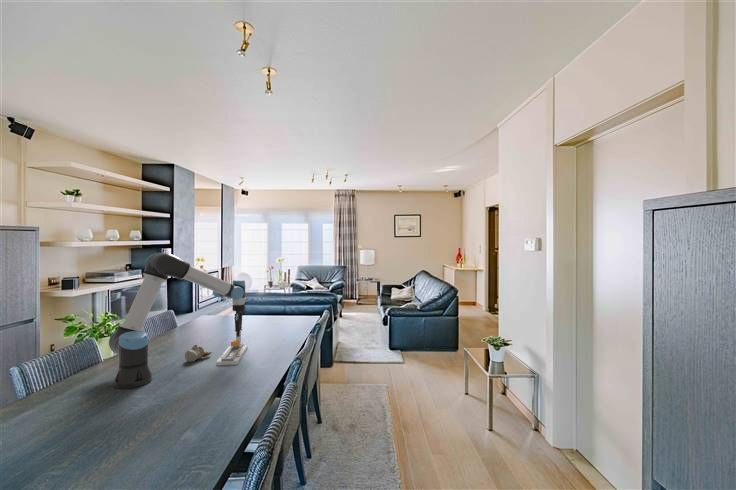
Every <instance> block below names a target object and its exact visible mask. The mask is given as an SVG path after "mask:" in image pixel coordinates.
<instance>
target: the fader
mask: <svg viewBox="0 0 736 490" xmlns="http://www.w3.org/2000/svg"><path fill="white" fill-rule="evenodd" d="M241 341H242V339H241V340H236V339H233V340H232V339H231V341H230V346H231V347H233V350H237V348H238V346H240V345H241V344H242V343H241Z"/></svg>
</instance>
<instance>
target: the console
mask: <svg viewBox="0 0 736 490" xmlns="http://www.w3.org/2000/svg"><path fill="white" fill-rule="evenodd" d="M248 348H249V347H248V344H245V345H244V343H241V345H240V346H238V348H237V350H233V347H231V345H228V347H227V348H226V350H225V351H223V353H222V354H220V357H219V358H217V360H216V366H230V365H233V366H234V365H238V364H239V363H240V361H241V360H242V358H243V356H244V355H245V353H246V352H247V349H248Z"/></svg>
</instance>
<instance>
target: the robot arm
mask: <svg viewBox="0 0 736 490" xmlns="http://www.w3.org/2000/svg"><path fill="white" fill-rule="evenodd" d="M144 267H145V268H144V270H143V272H142V276H143V277H144V278H143V280H142V282H141V285H140V287H139V288H138V291H137V293H136V295H135V297H134V299H133V302H132V304H131V306H130V308H129V310H128V313H127V314H126V317H125V319H124V322H122V323H120V324H118V326H117V328H116V330H115V331H114V332H113V333H112V334H111V335H110V336H109V339H108V347H109V348H110V350H111V351H112V352H113V353H114V354H116V355H117V356H118V369H117V370H118V371H117V372H116V374H115V378H114V381H113V387H114V388H116V389H122V390H124V389H125V390H127V389H133V388H139V387H142V386H145V385H148V384H149V383H150V382H152V381H153V373H152V371H151V368H150V366H149V340H150V339H149V335H148V334H147V332H145V329H144V325H145V323H146V320H147V318H148V315H149V313H150V311H151V308H152V307H153V305H154V302H155V300H156V297H157V296H158V293H159V291H160V289H161V286H162V284H163V283H165V282H167V280H168V278H169V277H172V278H175V279H177V280H185V281H188V282H191V283H193V284H195V285H198V286H200V287H203V288H205V289H208V290H210V291H212V294H213V297H215V298H223V297H224V298H228V299H232V311H233V312H235V313H234V332H235V340H241V341H242V331H243V326H242V325H243V315H244V314H243V312H244V311H245V310H246V304H245V303H246V300H247V299H246V281H245V280H244V279H234V280H232V282H231V283H230V282H227V281H225V280H223V279H221V278H218V277H217V276H214V275H212V274H210V273H207V272H205V271H203V270H201V269H199V268H197V267H194V266H192V265H191V262H189V261H187V260H184V259H182V258H181V257H178V256H177V255H174V254H171V253H167V252H166V253H165V252H155V253H153V254H150V255H149V256H148V257H147V258H146V260H145V263H144Z"/></svg>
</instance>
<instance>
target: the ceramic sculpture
mask: <svg viewBox="0 0 736 490" xmlns="http://www.w3.org/2000/svg"><path fill="white" fill-rule="evenodd" d="M211 354H212V352H211V351H210V352H208V351H205V349H204V348H203V346H201V345H199V346H198V345H197V344H195V345H193V346H192V347H191V349H190V350H186V351H185V352H184V360H185V361H186V362H188V363H194V362H195V361H196V360H200V359H203V358H207V357H209V356H210V355H211Z"/></svg>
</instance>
